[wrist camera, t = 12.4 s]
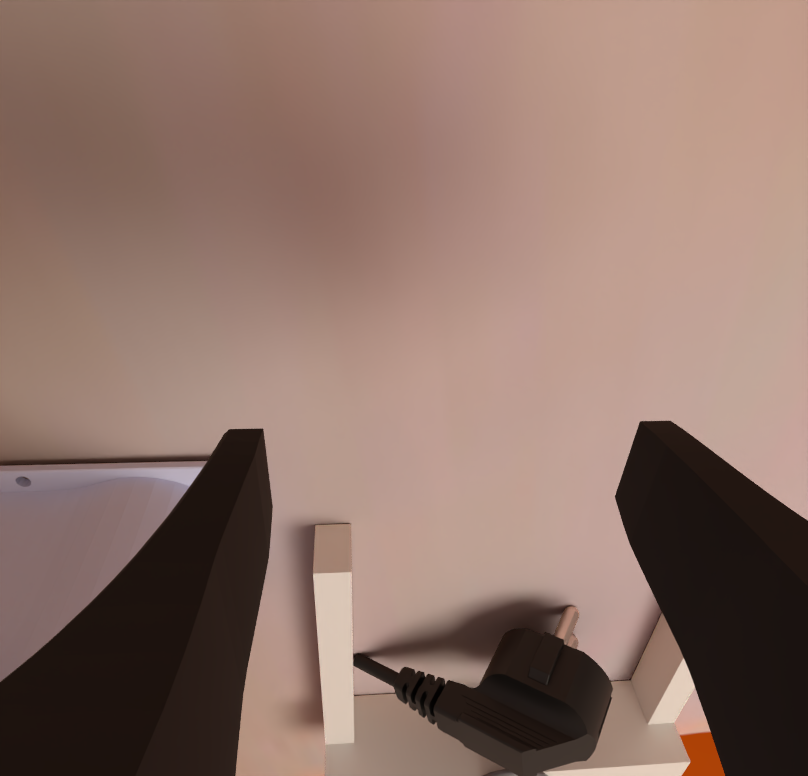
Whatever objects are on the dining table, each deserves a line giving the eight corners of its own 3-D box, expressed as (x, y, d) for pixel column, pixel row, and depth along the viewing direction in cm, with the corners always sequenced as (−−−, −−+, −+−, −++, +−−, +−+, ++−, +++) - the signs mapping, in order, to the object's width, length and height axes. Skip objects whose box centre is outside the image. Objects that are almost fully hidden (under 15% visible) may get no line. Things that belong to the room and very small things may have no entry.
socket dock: (328, 730, 37) (326, 823, 33) (315, 524, 26) (310, 626, 22) (638, 711, 38) (672, 798, 34) (740, 511, 28) (805, 603, 24)
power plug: (336, 642, 30) (580, 767, 24) (414, 530, 35) (633, 611, 29) (358, 700, 33) (578, 822, 27) (426, 591, 38) (625, 674, 32)
